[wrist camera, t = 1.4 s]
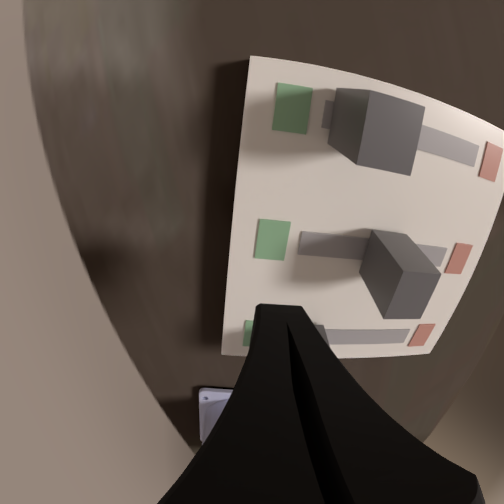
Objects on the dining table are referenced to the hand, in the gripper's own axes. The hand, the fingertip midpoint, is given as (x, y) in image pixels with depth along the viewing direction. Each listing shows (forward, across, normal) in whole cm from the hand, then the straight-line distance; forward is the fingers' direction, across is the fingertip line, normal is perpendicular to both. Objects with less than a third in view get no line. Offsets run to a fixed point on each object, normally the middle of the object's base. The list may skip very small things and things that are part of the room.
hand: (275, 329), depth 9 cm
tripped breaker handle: (+6, -6, 0) cm, 8 cm away
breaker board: (+8, -6, 0) cm, 10 cm away
